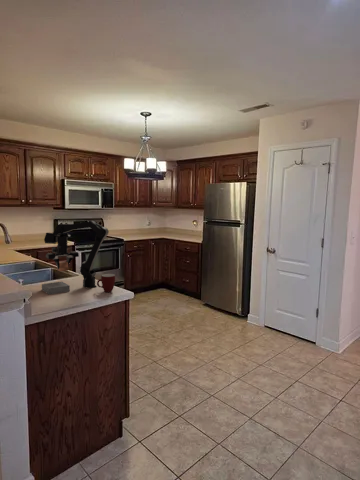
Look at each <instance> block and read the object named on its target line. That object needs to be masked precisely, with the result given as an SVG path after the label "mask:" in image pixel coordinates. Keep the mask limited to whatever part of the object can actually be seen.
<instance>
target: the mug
mask: <svg viewBox="0 0 360 480" xmlns="http://www.w3.org/2000/svg"><path fill="white" fill-rule="evenodd" d="M100 282H101V285H100V284H99V283H100ZM115 283H116V274H114V273H104V274H103V273H102V274H101V276H100V278H99V279H98V280H97V282H96V286H97V287H98V288H102V290H103V291H104V293H111V292H113V290H114V287H115Z"/></svg>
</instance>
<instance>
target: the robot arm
mask: <svg viewBox="0 0 360 480" xmlns="http://www.w3.org/2000/svg"><path fill="white" fill-rule="evenodd" d="M87 228H90V229H91V230H92V231H94V233H95V240H94V242H93V245H92V248H91V249H90V252H89V253H88V257H87V258H86V260H84V261H83V262H81V266H80V267H79V269H80V270H79V272H80V274H81V275H82V278H83V280H82V287H84V288H85V289H91V288H97V285H96V274H97V272H96V271H95V270H94V261H95V259H96V257H97V255H98V252H99V250H100V248H101V246H102V243H103V242H104V241H105V239H106V238H107V236H108V235H109V229H108V228H107V227H105V226H102V225H101V224H99V223H98V222H95V220H89V221H84V222H78V223H60V224H57V225H56V226H55V230H54V231H53V232H46V233H45V235H44V238H43V239H44V241H43V242H44V243H45V244H51V245H52V244H53V245H55V244H56V243H57V245H56V246H52V247H51V252H48V253H46V254H45V258H46V259H48V260H53V261H54V263H55V265H56V269H57V268H58V269H59V262H60V257H62V258H63V257H65V258H66V262H68V267H69V266H70V264H71V262H72V261H73V259H74V258H77V257H80V254H79V252H78V251H75V250H73V251H69V252H68V248H69V245H68V238H70V237H71V236H72V235H71V234H70V233H69V232H71V231H75V230H80V229H87Z"/></svg>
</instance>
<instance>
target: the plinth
mask: <svg viewBox="0 0 360 480" xmlns="http://www.w3.org/2000/svg"><path fill="white" fill-rule="evenodd" d="M70 286H71V285H69V284H67V282H64V281H62V280H61V281H55V282H47V283H41V291H43V292H44V293H46V294H47V295H54V294H61V293H67V292H70V290H71V289H70Z"/></svg>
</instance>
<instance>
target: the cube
mask: <svg viewBox="0 0 360 480" xmlns="http://www.w3.org/2000/svg"><path fill="white" fill-rule="evenodd" d="M56 269H57V271H59V272H66V271H67V272H68V271H69V266H68V262H67V261H59V269H58V268H57V267H56Z"/></svg>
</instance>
